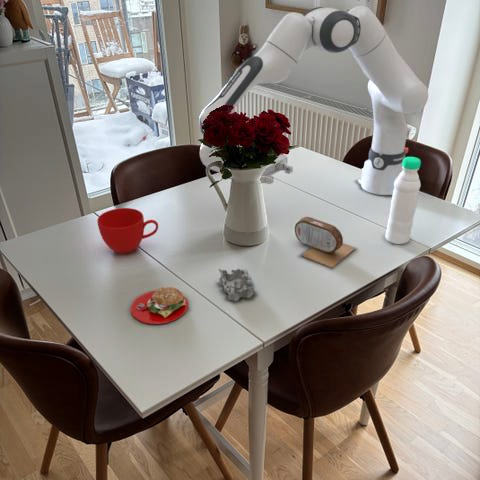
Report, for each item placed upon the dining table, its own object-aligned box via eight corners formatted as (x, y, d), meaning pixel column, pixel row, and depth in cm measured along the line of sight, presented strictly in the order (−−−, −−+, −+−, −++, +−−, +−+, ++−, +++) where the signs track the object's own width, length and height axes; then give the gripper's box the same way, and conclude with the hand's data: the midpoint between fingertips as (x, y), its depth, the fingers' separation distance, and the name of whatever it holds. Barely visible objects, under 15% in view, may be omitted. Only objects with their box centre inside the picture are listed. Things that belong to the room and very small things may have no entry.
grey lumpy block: (218, 280, 134) (217, 267, 132) (245, 276, 136) (244, 263, 133) (228, 303, 125) (227, 289, 123) (256, 298, 127) (256, 284, 125)
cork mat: (325, 238, 152) (325, 237, 152) (355, 249, 146) (355, 248, 146) (301, 256, 144) (301, 255, 143) (331, 268, 138) (331, 266, 138)
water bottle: (407, 234, 154) (422, 154, 139) (411, 245, 148) (428, 163, 134) (383, 233, 154) (396, 153, 140) (386, 244, 148) (401, 163, 134)
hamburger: (161, 284, 133) (159, 265, 129) (199, 304, 125) (198, 285, 122) (119, 309, 124) (115, 289, 120) (157, 332, 116) (154, 312, 113)
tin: (341, 253, 144) (345, 227, 139) (336, 258, 142) (339, 231, 137) (298, 237, 152) (299, 212, 147) (292, 241, 150) (293, 216, 145)
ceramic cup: (159, 258, 144) (155, 227, 138) (99, 260, 143) (93, 229, 137) (162, 236, 154) (158, 206, 149) (106, 238, 154) (101, 208, 148)
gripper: (221, 164, 143) (259, 176, 135) (264, 145, 155) (302, 154, 148) (222, 185, 146) (259, 198, 139) (264, 164, 159) (301, 175, 152)
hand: (282, 175), depth 144 cm, fingers open, 8 cm apart
